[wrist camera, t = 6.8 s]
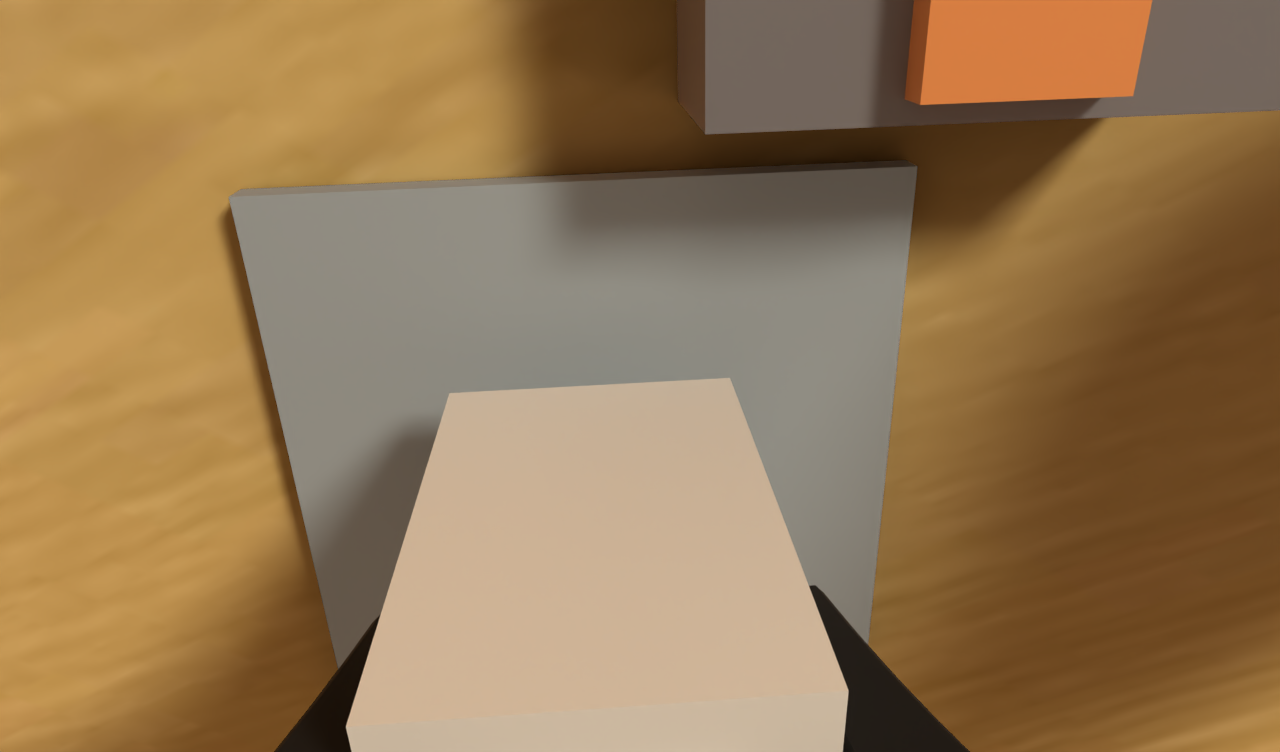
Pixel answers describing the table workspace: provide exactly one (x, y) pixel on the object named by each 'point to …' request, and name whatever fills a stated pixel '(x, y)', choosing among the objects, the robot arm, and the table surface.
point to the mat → (582, 334)
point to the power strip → (858, 62)
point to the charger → (598, 586)
